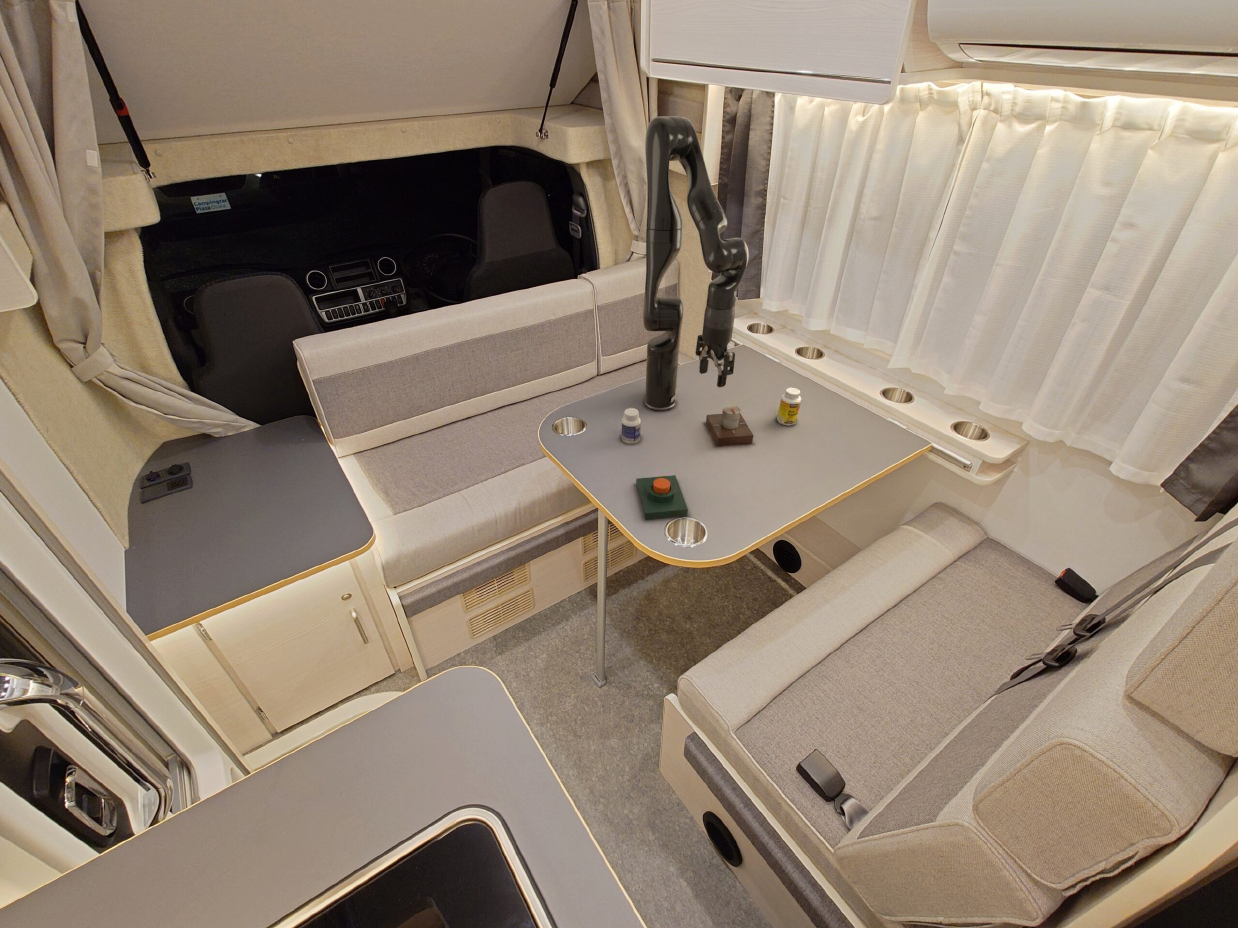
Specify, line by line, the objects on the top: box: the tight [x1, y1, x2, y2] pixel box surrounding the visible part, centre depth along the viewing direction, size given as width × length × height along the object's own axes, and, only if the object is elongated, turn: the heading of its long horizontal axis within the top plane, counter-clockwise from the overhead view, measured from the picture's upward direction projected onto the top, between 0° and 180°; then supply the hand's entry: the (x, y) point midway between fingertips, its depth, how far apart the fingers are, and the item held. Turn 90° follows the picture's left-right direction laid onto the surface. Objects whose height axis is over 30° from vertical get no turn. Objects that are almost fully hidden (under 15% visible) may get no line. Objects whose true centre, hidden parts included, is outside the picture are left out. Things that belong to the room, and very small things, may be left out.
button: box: [653, 478, 670, 494], centre depth 133 cm, size 4×4×2 cm
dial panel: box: [705, 413, 754, 448], centre depth 158 cm, size 12×10×3 cm
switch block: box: [635, 474, 689, 521], centre depth 135 cm, size 13×10×4 cm
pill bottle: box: [620, 407, 642, 445], centre depth 154 cm, size 5×5×9 cm
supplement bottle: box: [776, 387, 802, 426], centre depth 162 cm, size 6×6×10 cm
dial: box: [721, 404, 741, 429], centre depth 156 cm, size 5×5×5 cm
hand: (711, 379), depth 150 cm, fingers open, 8 cm apart
